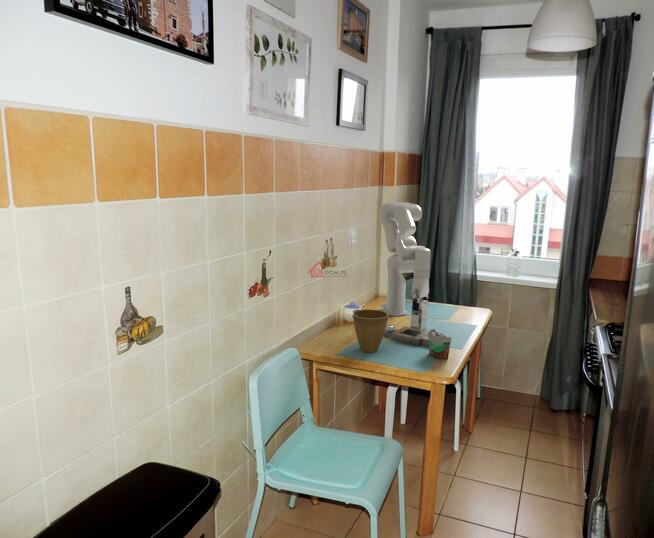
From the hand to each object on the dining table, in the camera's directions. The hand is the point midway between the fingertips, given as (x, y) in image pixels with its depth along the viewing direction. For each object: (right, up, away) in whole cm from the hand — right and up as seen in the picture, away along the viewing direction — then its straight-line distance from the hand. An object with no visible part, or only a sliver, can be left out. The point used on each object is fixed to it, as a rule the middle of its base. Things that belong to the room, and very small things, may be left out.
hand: (419, 308), depth 250 cm
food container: (0, -18, -34) cm, 38 cm away
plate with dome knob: (-9, -12, -10) cm, 19 cm away
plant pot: (-27, -16, -27) cm, 41 cm away
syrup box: (0, -10, +3) cm, 11 cm away
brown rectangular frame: (-3, -13, -14) cm, 20 cm away
